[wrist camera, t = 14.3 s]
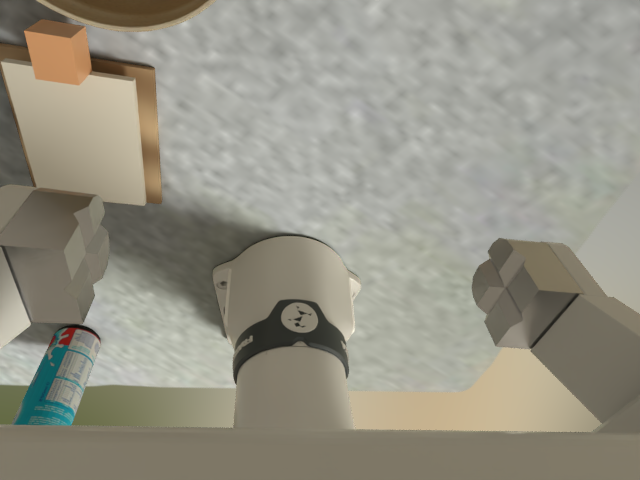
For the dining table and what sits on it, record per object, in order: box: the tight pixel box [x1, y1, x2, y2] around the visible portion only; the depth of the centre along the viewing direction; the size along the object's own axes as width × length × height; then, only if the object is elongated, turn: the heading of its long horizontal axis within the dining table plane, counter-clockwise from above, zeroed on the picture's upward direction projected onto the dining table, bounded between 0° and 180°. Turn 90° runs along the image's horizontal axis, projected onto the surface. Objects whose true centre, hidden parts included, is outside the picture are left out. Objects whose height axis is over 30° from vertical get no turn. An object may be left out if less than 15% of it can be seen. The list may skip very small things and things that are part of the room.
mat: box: [0, 43, 162, 204], centre depth 39 cm, size 14×12×1 cm
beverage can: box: [11, 326, 101, 426], centre depth 53 cm, size 6×6×15 cm
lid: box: [1, 19, 146, 206], centre depth 36 cm, size 16×10×4 cm, turn 169°
